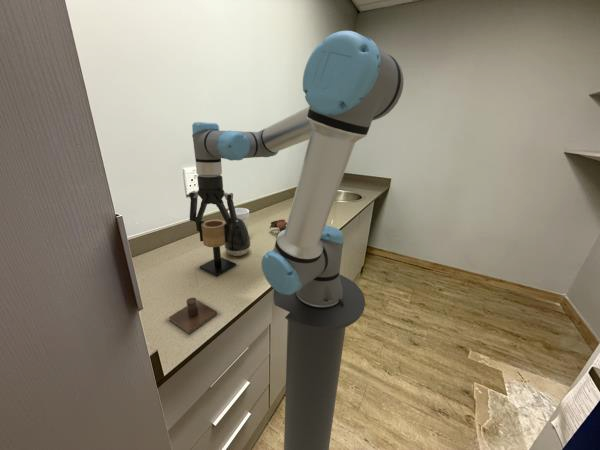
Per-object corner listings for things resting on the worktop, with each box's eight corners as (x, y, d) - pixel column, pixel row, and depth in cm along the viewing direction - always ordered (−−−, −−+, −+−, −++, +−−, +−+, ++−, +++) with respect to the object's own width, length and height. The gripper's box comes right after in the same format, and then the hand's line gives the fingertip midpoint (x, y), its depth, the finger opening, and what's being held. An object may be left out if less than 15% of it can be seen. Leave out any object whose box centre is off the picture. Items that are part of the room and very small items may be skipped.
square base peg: (236, 265, 90) (234, 241, 86) (216, 276, 83) (214, 250, 79) (219, 258, 94) (217, 235, 91) (199, 268, 87) (196, 243, 83)
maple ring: (232, 241, 86) (231, 222, 84) (214, 249, 80) (212, 229, 77) (216, 235, 90) (215, 218, 88) (198, 243, 84) (196, 224, 81)
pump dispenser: (226, 261, 93) (223, 224, 87) (223, 249, 102) (221, 215, 96) (253, 257, 96) (252, 221, 91) (248, 246, 105) (246, 213, 100)
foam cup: (240, 243, 108) (238, 215, 103) (225, 238, 112) (223, 211, 108) (254, 236, 116) (253, 210, 111) (239, 231, 120) (238, 206, 115)
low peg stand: (217, 314, 66) (215, 297, 64) (189, 334, 59) (186, 316, 57) (197, 302, 70) (195, 286, 68) (169, 320, 63) (166, 303, 61)
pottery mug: (271, 238, 115) (267, 222, 116) (273, 239, 124) (270, 224, 125) (296, 232, 115) (292, 216, 116) (296, 234, 124) (292, 218, 125)
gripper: (245, 174, 80) (247, 237, 88) (182, 171, 80) (190, 234, 88) (239, 178, 73) (242, 246, 81) (170, 175, 73) (180, 243, 81)
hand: (215, 240), depth 85 cm, fingers closed on maple ring, 8 cm apart
